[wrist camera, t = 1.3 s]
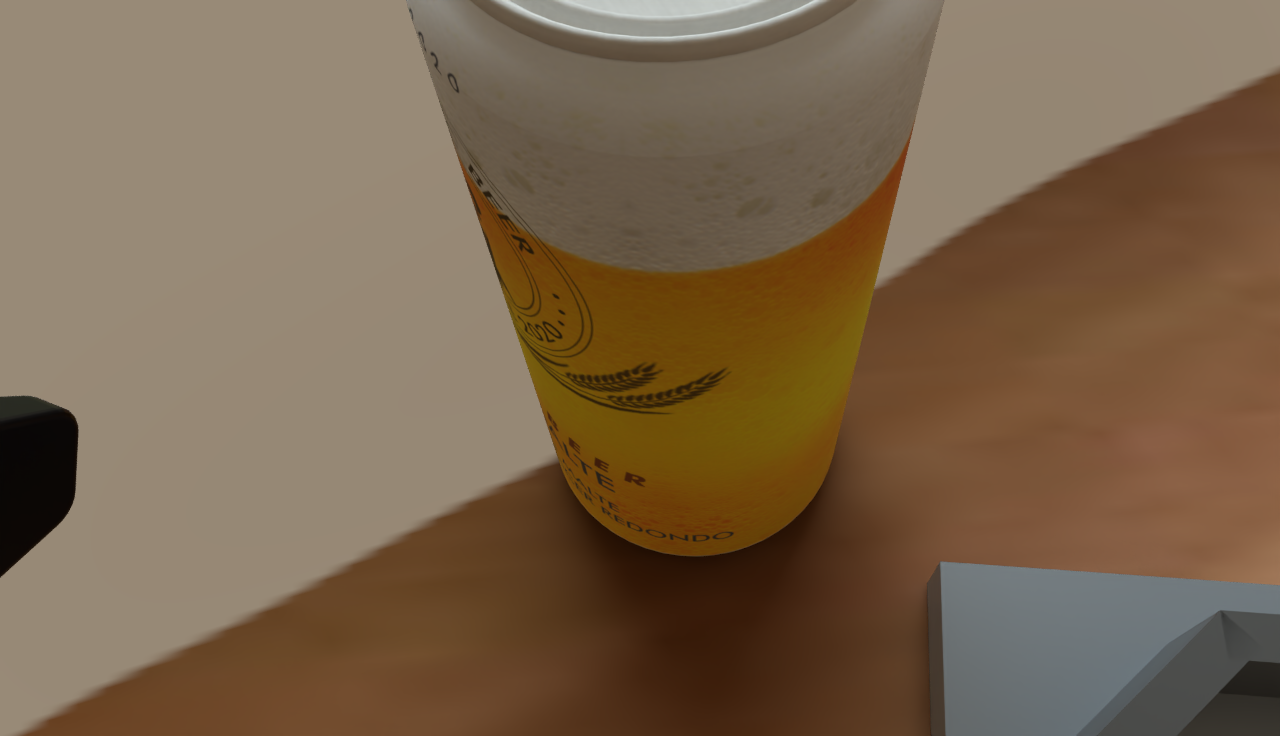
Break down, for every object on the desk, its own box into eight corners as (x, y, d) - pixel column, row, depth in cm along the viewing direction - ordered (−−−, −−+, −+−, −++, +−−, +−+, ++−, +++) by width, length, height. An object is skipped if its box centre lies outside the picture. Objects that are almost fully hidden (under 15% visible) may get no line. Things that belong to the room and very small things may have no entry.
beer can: (531, 358, 26) (332, -259, 12) (778, 287, 26) (843, -382, 13) (599, 603, 23) (438, 149, 10) (875, 520, 23) (1083, -24, 10)
